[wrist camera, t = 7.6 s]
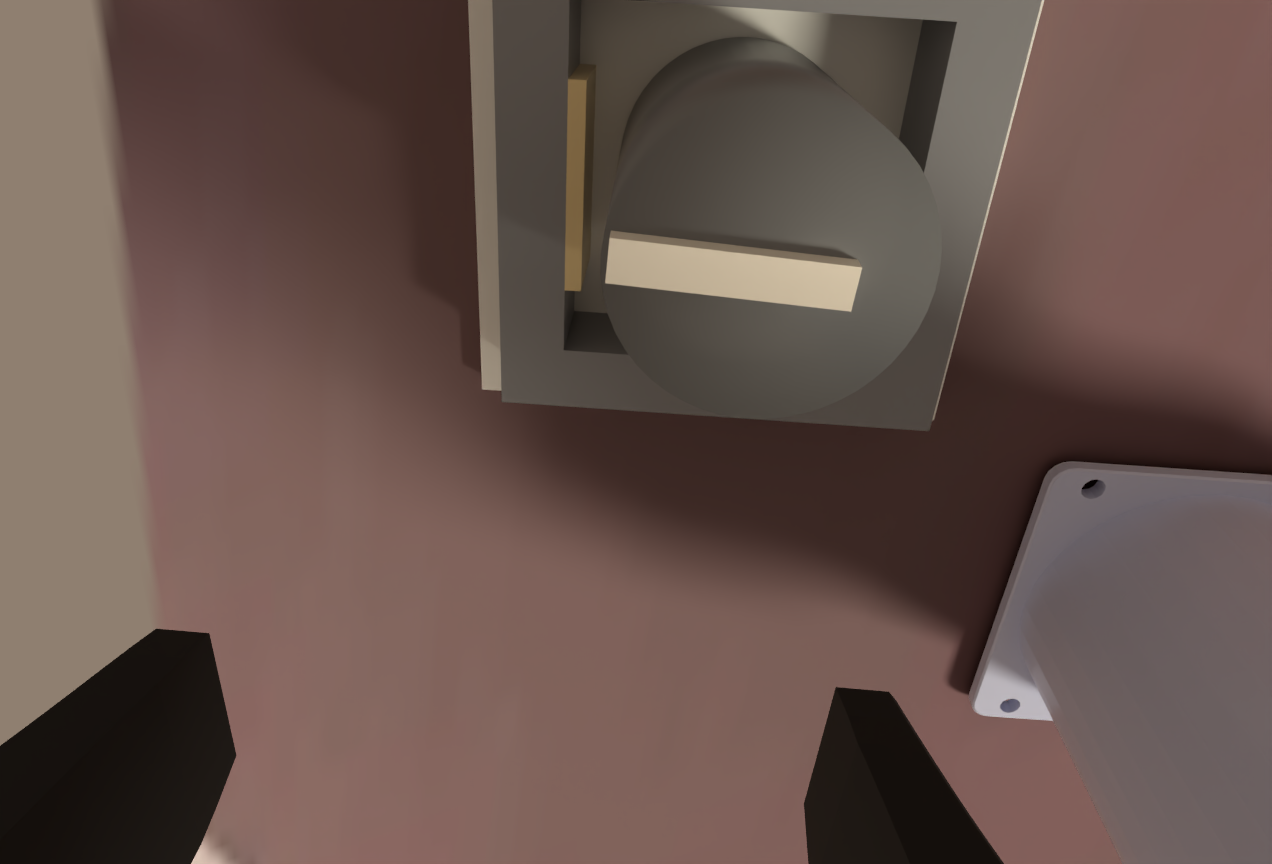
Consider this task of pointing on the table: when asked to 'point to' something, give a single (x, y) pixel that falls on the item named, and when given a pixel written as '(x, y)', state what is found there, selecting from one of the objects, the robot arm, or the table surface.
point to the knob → (764, 234)
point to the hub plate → (591, 142)
